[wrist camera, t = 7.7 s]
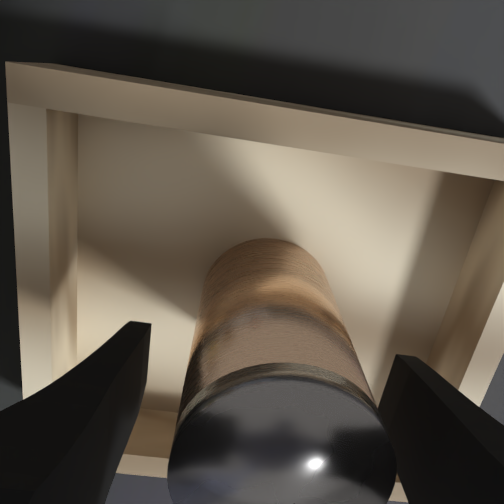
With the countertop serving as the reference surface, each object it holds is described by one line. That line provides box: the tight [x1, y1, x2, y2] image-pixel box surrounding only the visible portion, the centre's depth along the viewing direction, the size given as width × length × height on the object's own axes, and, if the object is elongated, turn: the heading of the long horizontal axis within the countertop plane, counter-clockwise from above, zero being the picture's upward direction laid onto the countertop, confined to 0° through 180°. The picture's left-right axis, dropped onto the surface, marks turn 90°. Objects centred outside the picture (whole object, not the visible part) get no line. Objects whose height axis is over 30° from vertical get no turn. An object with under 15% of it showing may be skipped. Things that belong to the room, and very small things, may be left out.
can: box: [167, 238, 397, 504], centre depth 13 cm, size 5×5×8 cm
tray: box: [5, 62, 504, 502], centre depth 16 cm, size 14×16×3 cm
